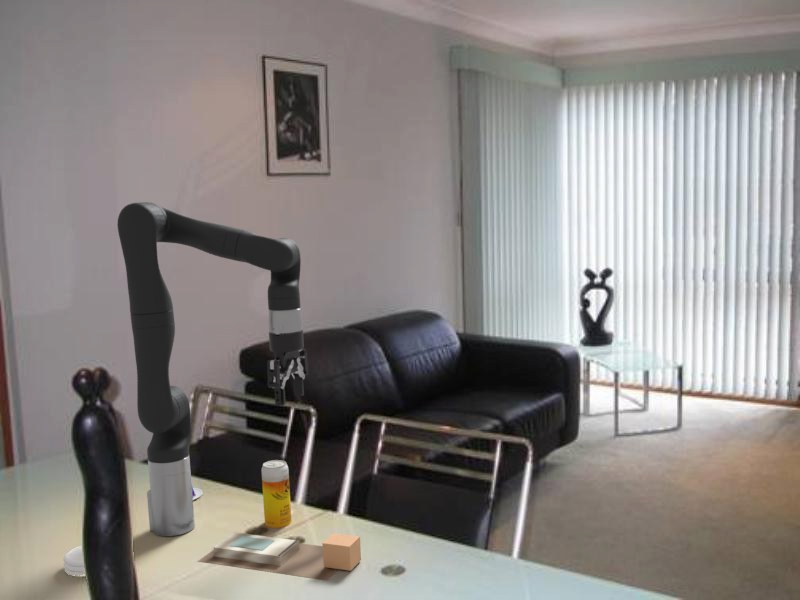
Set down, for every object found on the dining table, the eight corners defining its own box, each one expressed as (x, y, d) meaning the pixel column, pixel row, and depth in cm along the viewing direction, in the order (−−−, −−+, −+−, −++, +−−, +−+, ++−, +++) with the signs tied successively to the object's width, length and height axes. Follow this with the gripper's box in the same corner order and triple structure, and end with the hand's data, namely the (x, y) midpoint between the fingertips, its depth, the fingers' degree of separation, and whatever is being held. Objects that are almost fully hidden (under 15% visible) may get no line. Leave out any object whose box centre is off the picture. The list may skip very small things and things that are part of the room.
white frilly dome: (85, 582, 169) (84, 566, 169) (54, 572, 174) (53, 556, 174) (125, 563, 178) (124, 547, 177) (94, 554, 183) (93, 538, 182)
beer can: (286, 532, 190) (282, 468, 188) (261, 531, 191) (257, 467, 189) (295, 521, 196) (291, 459, 194) (270, 520, 197) (266, 459, 195)
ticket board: (198, 565, 174) (196, 551, 174) (234, 538, 187) (233, 525, 187) (327, 585, 163) (326, 569, 163) (357, 555, 176) (356, 541, 176)
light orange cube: (323, 566, 168) (322, 543, 168) (334, 556, 173) (333, 533, 172) (350, 570, 166) (349, 546, 166) (361, 560, 171) (359, 536, 170)
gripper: (286, 323, 193) (290, 392, 195) (254, 334, 180) (258, 407, 182) (315, 324, 191) (319, 393, 193) (284, 334, 178) (289, 409, 180)
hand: (290, 400), depth 188 cm, fingers open, 8 cm apart
